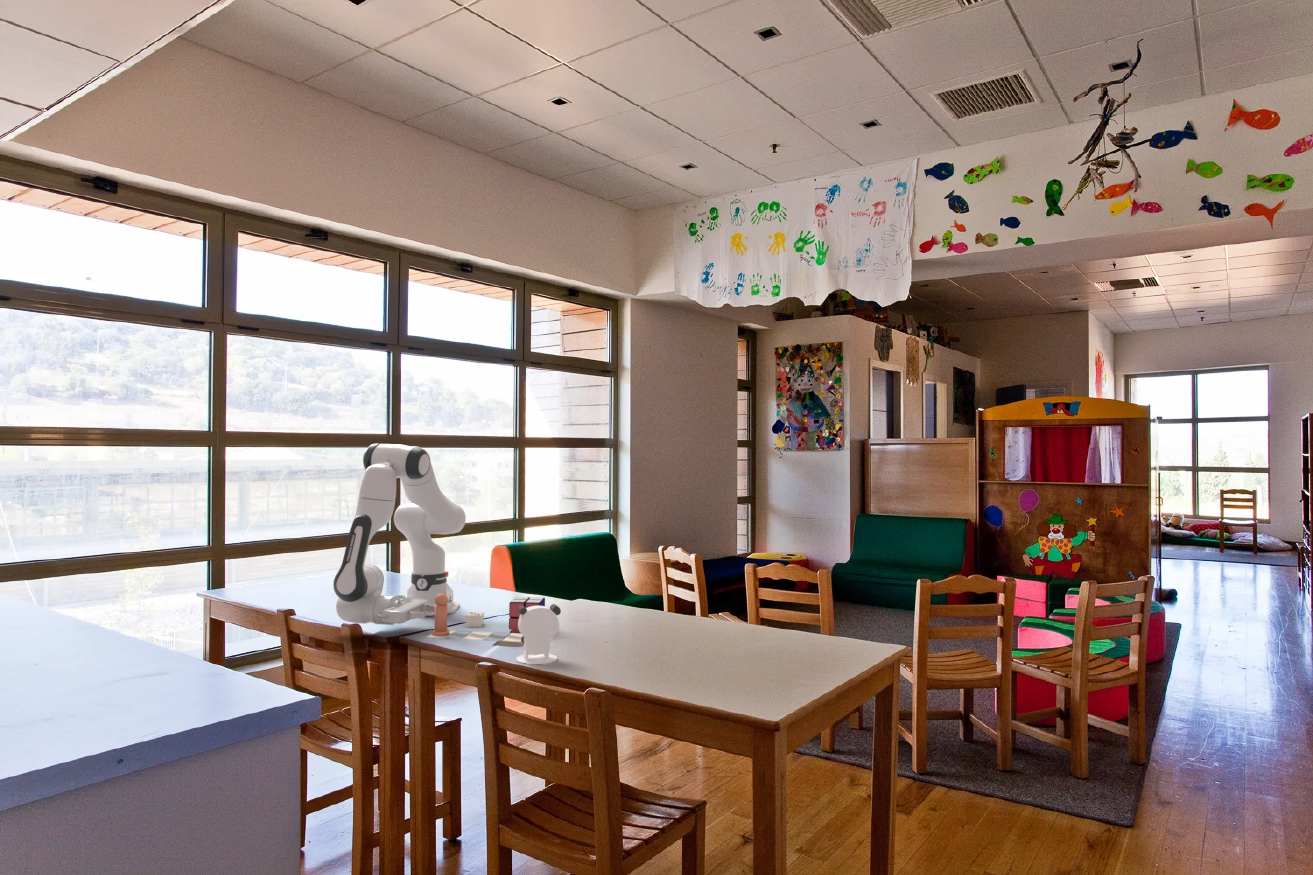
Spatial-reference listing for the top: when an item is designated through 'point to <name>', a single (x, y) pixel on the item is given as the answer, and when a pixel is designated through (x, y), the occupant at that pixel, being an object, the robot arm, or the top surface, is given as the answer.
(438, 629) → the dildo
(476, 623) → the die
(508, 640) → the track
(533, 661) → the panda figurine
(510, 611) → the puzzle cube
